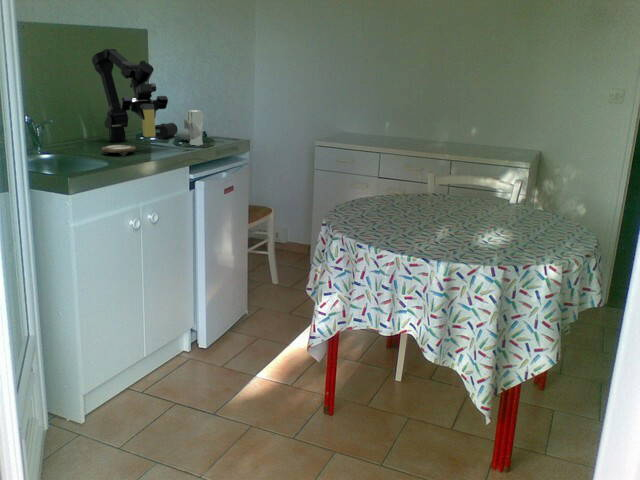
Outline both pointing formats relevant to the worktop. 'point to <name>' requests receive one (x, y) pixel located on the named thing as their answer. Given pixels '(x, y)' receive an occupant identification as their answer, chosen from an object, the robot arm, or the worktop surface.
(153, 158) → the worktop surface
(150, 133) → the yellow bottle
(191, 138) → the beer glass
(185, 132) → the air freshener
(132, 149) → the levelling base
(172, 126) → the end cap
